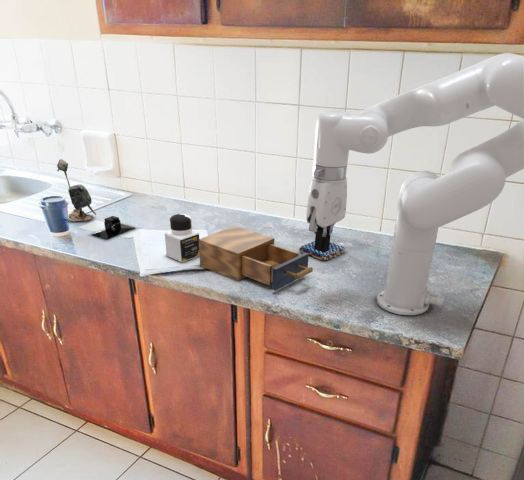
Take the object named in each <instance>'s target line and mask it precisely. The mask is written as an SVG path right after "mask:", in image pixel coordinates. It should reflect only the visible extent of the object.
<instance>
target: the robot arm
mask: <svg viewBox="0 0 524 480" xmlns="http://www.w3.org/2000/svg"><path fill="white" fill-rule="evenodd" d="M494 106H495V107H497V108H499V109H502V110H503V111H506V112H508V113H509V114H512V115H514V116H516V117H519V118H521V119H520V120H519V121H518V122H517V123H516V124H514V125H513V126H512V127H510V128H508V129H507V130H505V131H503V132H502V133H500V134H498V135H496V136H494V137H491V138H490V139H488V140H486V141H484V142H482V143H480V144H478V145H476V146H473V147H472V148H469V149H467V150H464V151H463V152H461V153H459V154H458V155H457V156H456V157H454V159H453V160H452V161H451V162H450V166H449V168H448V172H447V173H444V174H443V175H441V176H439V175H438V174H436V173H435V172H433V171H430V170H419V171H416V172H413V173H411V174H410V175H408V176H407V177H406V179H405V180H404V181H403V183H402V184H401V186H400V188H399V193H398V196H397V197H398V198H397V205H396V215H395V216H396V217H395V223H394V230H393V238H392V243H391V249H390V256H389V261H388V268H387V273H386V274H387V275H386V281H385V286H384V290H381V291H380V292H379V293H378V294H377V297H376V303H377V304H378V306H379V307H380V308H381V309H383V310H385V311H387V312H389V313H392V314H396V315H400V316H401V315H402V316H416V315H421V314H423V313H426V312H427V311H428V310H429V308H430V304H431V305H435V306H440V307H442V306H443V304H444V299H445V298H444V297H440V293H437V292H430V291H429V290H428V289H429V285H428V280H429V276H430V271H431V266H432V261H433V257H434V252H435V248H436V243H437V238H438V232H439V228H440V227H443V226H445V225H448V224H450V223H452V222H455V221H457V220H460V219H462V218H463V217H466V216H468V215H470V214H473V213H475V212H477V211H479V210H481V209H483V208H485V207H486V206H488V205H490V204H491V203H492V202H494V201H495V200H496V199H497V198H498V197H499V196H500V194H501V193H502V192H503V190H504V188H505V185H506V178H508V177H511V176H513V175H515V174H517V173H518V172H520V171H522V170H524V56H523V55H520V54H516V53H513V52H503V53H499V54H497V55H494V56H491V57H489V58H486V59H484V60H481V61H479V62H476V63H475V64H472V65H470V66H468V67H464V68H463V69H461V70H457V71H456V72H453V73H451V74H448V75H446V76H443V77H441V78H439V79H436V80H433V81H430V82H429V83H425V84H423V85H421V86H418V87H416V88H413V89H410V90H408V91H405V92H402V93H400V94H397V95H395V96H392V97H390V98H389V97H388V98H386V99H383V100H382V101H380V102H378V103H377V102H376V103H375V104H372V105H371V106H368V107H366V108H364V109H363V110H361V111H360V112H359V113H357V115H352V114H351V113H350V112H348V111H346V110H340V109H325V110H324V109H323V110H321V111H320V112H318V114H317V116H316V122H315V132H314V133H315V134H314V143H313V158H312V168H311V171H312V172H311V182H310V186H309V191H308V197H307V204H306V213H305V214H306V216H305V217H306V219H305V221H306V223H307V224H308V231H310V232H313V234H314V241H315V246H314V249H315V250H318V251H321V252H324V253H325V252H326V251H329V245H330V243H331V236H332V234H333V230H334V226H335V224H337V223H339V222H341V221H342V220H344V218H345V217H346V212H347V202H348V201H347V199H348V180H347V179H348V178H347V171H348V163H349V155H350V154H349V153H350V151H353V152H356V153H361V154H369V155H370V154H376V153H378V152H379V151H381V150H382V149H383V148H384V147H385V146H386V144H387V142H388V140H389V137H393V136H395V135H396V134H400V133H402V132H405V131H408V130H411V129H416V128H422V127H442V126H445V125H449V124H451V123H453V122H457V121H459V120H462V119H464V118H466V117H469V116H471V115H473V114H476V113H479V112H481V111H485V110H487V109H490V108H492V107H494ZM329 234H330V235H329Z"/></svg>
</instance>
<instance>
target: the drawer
mask: <svg viewBox="0 0 524 480" xmlns="http://www.w3.org/2000/svg"><path fill="white" fill-rule="evenodd" d="M309 256H310V255H309V254H308V253H301V254H300V253H299V252H297V251H296V250H295V251H294V250H291V249H289V248H285V247H282V246H280V245H277V244H274V245H273V244H270V243H269V244H267V245H265V246H262V247H260V248H258V249H255V250H253V251H251V252H248V253H246V254H244V255H241V256H240V261H241V275H244V276H246V278H249V279H252V280H254V281H257V282H259V283H262V284H265V285H268V286H271V290H272V291H274V292H276V291H279V290H280V289H282V288H284V287H286V286H287V285H290V284H291V283H294V282H295V281H298V280H299V279H302V278H303V277H306V276H307V275H309V274H311V273H313V271H314V269H313V267H312V266H309Z"/></svg>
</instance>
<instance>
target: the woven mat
mask: <svg viewBox="0 0 524 480" xmlns="http://www.w3.org/2000/svg"><path fill="white" fill-rule="evenodd" d="M314 246H315V240H313V241H311V242H308V243H306V244H304V245H303V244H302V245H300V247H298V250H299V252H300V253H301V254H303V253H308V254H309V256H312V257H313V258H314V259H318V260H320V261H329V259H332V258H337V256H340V255H341V254H345V252H346V251H345V250H346V249H345V246H343V245H339V244H336V243H334V242H330V245H329V251H326V252H325V253H324V252H321V251H318V250H315V249H314Z"/></svg>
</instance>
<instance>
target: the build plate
mask: <svg viewBox="0 0 524 480" xmlns="http://www.w3.org/2000/svg"><path fill="white" fill-rule="evenodd" d="M103 224H104V229H102V230H99V231H96V232H93V233H91V236H93V237H95V238H99V239H102V240H106V241H108V240H110V239H113V238H115V237H118V236H120V235H123V234H126V233H128V232H131V231H133V230H136V227H134V226H131V225H127V224H123V223H121V219H120V217H118V216H115V215H112V216H108V217H106V218H104V222H103Z"/></svg>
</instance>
